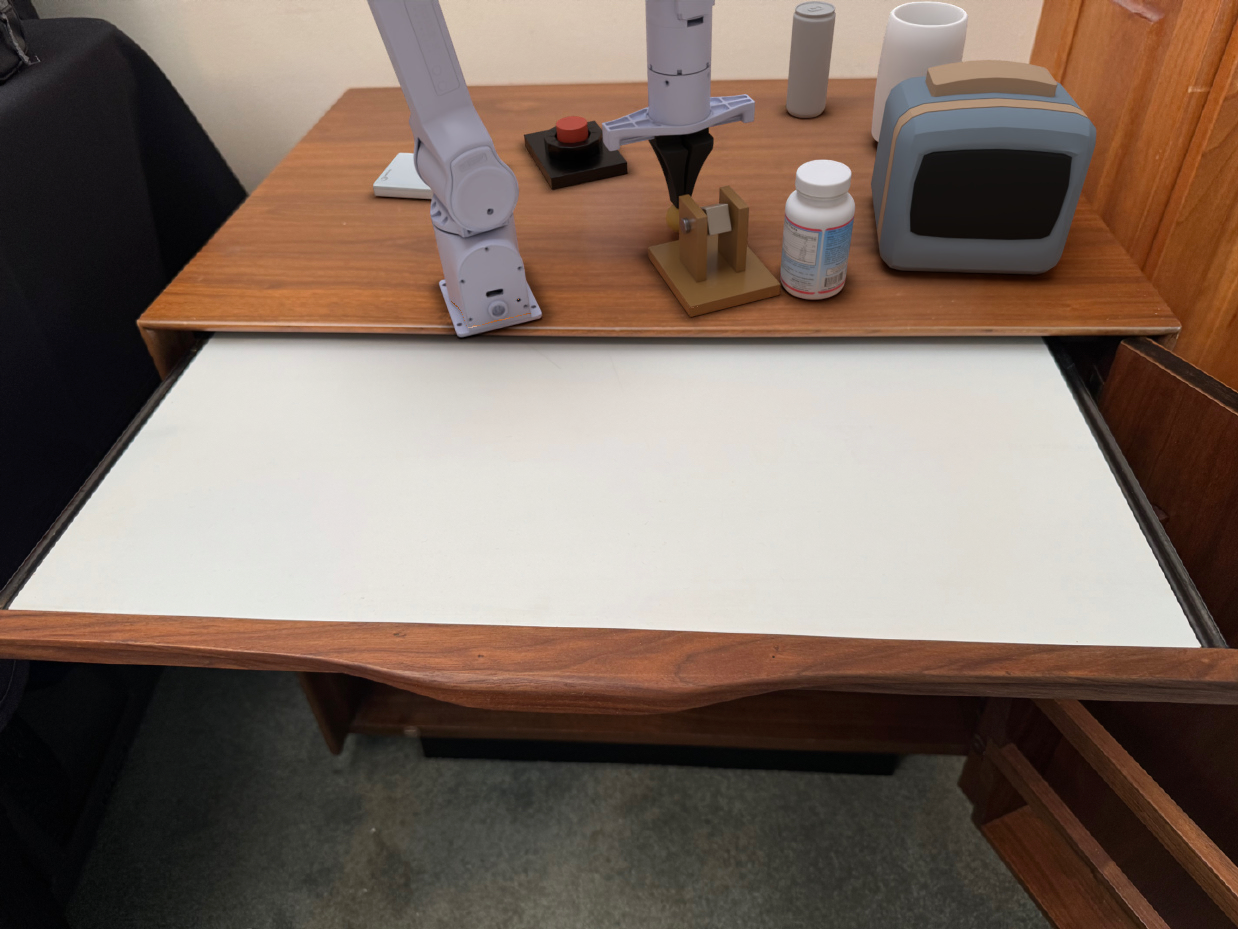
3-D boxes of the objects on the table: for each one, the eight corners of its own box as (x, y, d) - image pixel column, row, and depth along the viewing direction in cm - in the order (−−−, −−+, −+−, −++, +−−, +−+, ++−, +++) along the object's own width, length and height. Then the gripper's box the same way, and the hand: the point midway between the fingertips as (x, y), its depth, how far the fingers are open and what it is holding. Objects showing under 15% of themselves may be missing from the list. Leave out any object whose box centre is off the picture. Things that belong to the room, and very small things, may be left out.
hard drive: (371, 184, 98) (476, 190, 96) (399, 150, 104) (499, 155, 102) (375, 198, 100) (479, 203, 97) (403, 164, 105) (501, 168, 103)
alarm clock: (876, 277, 83) (907, 110, 72) (866, 192, 94) (891, 37, 83) (1060, 283, 81) (1120, 112, 70) (1026, 195, 92) (1074, 36, 81)
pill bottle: (836, 263, 85) (852, 152, 77) (850, 300, 81) (868, 186, 73) (773, 267, 85) (782, 157, 77) (784, 304, 81) (795, 191, 73)
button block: (627, 173, 100) (626, 148, 98) (552, 189, 99) (549, 164, 96) (595, 131, 108) (593, 107, 106) (525, 145, 107) (521, 121, 105)
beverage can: (778, 108, 110) (785, 5, 102) (810, 99, 112) (820, -3, 103) (799, 122, 107) (809, 17, 99) (832, 113, 108) (845, 9, 100)
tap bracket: (648, 257, 88) (645, 184, 82) (731, 237, 89) (734, 165, 84) (690, 317, 80) (690, 241, 75) (779, 294, 82) (786, 219, 76)
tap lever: (664, 234, 90) (659, 205, 89) (691, 228, 91) (686, 198, 90) (706, 240, 79) (700, 206, 78) (736, 232, 80) (731, 199, 79)
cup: (854, 135, 104) (872, 6, 94) (919, 123, 105) (944, -5, 95) (888, 166, 98) (912, 32, 88) (957, 154, 99) (987, 20, 89)
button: (592, 140, 101) (591, 125, 100) (562, 146, 100) (560, 131, 99) (583, 128, 103) (581, 113, 102) (553, 134, 102) (552, 119, 101)
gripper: (735, 34, 82) (730, 170, 92) (588, 61, 80) (598, 199, 89) (768, 60, 78) (759, 201, 87) (612, 90, 75) (621, 233, 84)
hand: (679, 202), depth 88 cm, fingers closed, pressing on tap lever
